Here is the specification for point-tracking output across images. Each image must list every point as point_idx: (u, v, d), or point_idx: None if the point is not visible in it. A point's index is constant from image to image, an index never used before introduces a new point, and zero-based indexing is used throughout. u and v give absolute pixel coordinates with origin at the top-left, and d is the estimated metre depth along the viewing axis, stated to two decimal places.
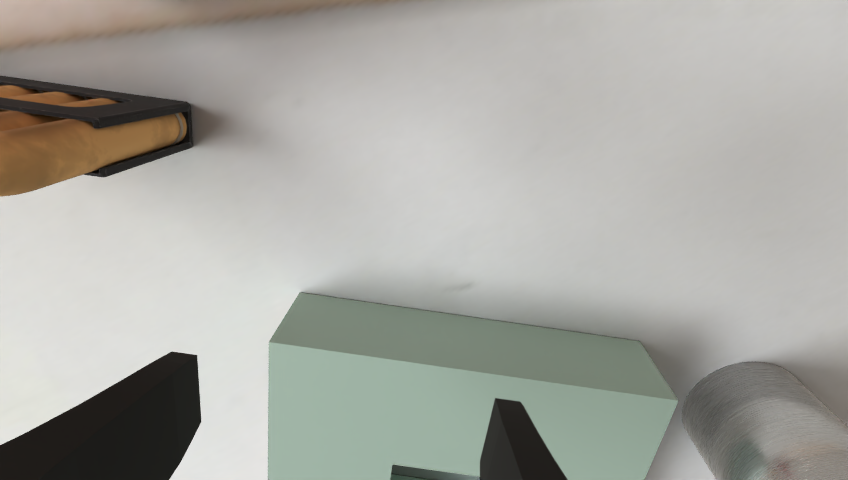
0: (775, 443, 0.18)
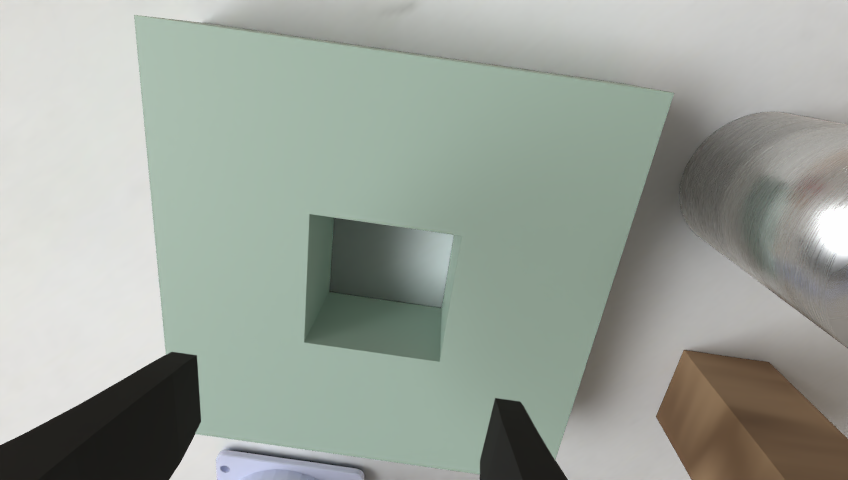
0: (801, 150, 0.14)
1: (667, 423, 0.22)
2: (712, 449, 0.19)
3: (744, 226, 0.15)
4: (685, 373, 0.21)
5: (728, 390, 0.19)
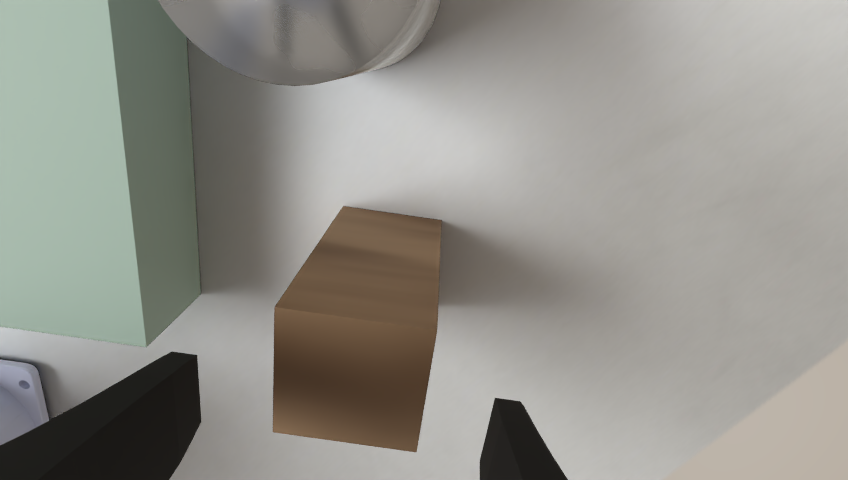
0: None
1: None
2: None
3: None
4: None
5: (345, 231, 0.16)
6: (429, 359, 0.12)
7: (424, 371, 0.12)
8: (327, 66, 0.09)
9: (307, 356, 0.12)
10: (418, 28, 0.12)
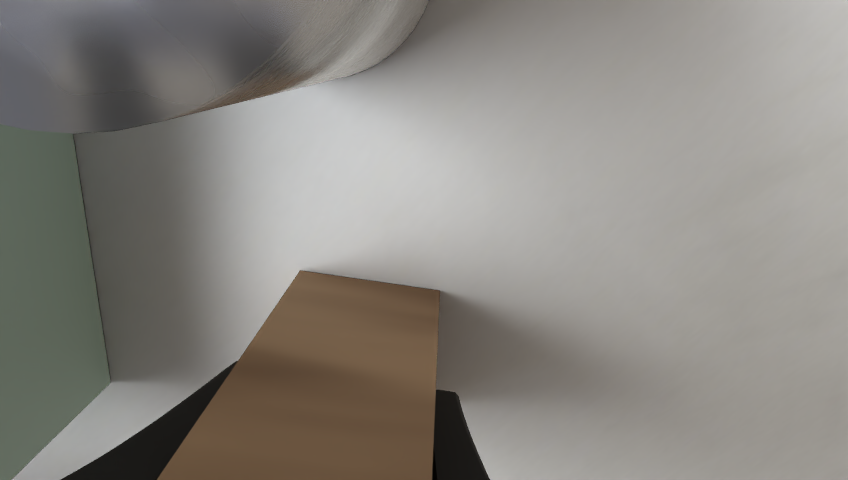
0: None
1: None
2: None
3: None
4: None
5: (292, 325, 0.11)
6: None
7: None
8: (144, 88, 0.04)
9: None
10: (394, 6, 0.06)
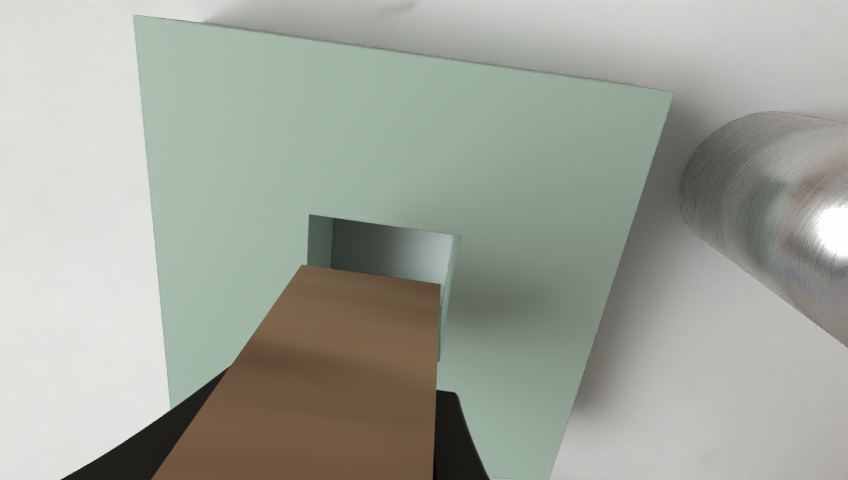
0: (801, 150, 0.14)
1: None
2: None
3: (745, 226, 0.15)
4: None
5: (294, 316, 0.11)
6: None
7: None
8: None
9: None
10: None
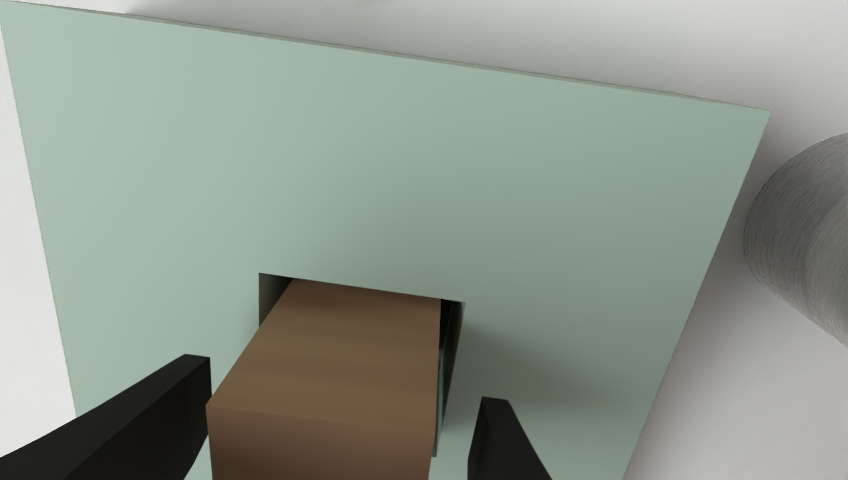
0: None
1: None
2: None
3: None
4: None
5: None
6: (425, 470, 0.08)
7: None
8: None
9: (256, 467, 0.09)
10: None
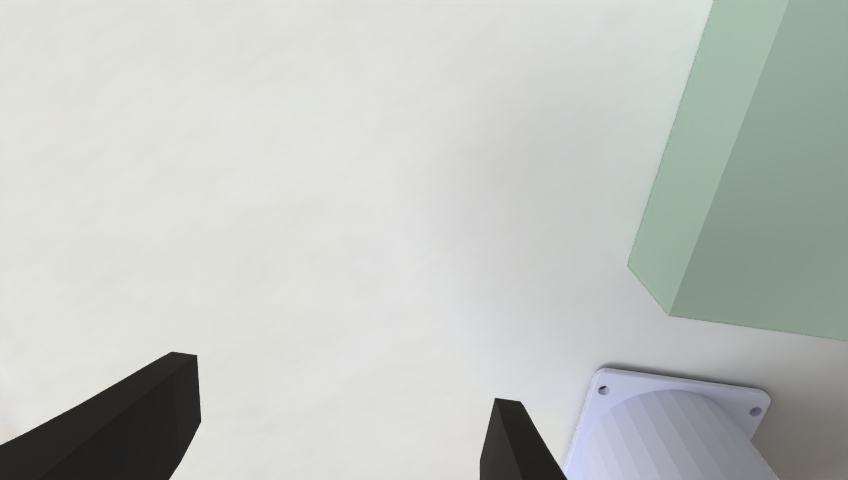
0: None
1: None
2: None
3: None
4: None
5: None
6: None
7: None
8: None
9: None
10: None
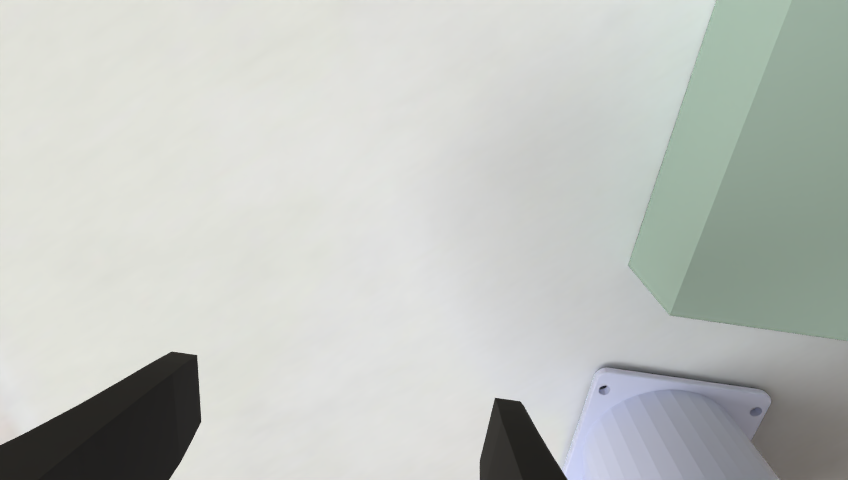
0: None
1: None
2: None
3: None
4: None
5: None
6: None
7: None
8: None
9: None
10: None
